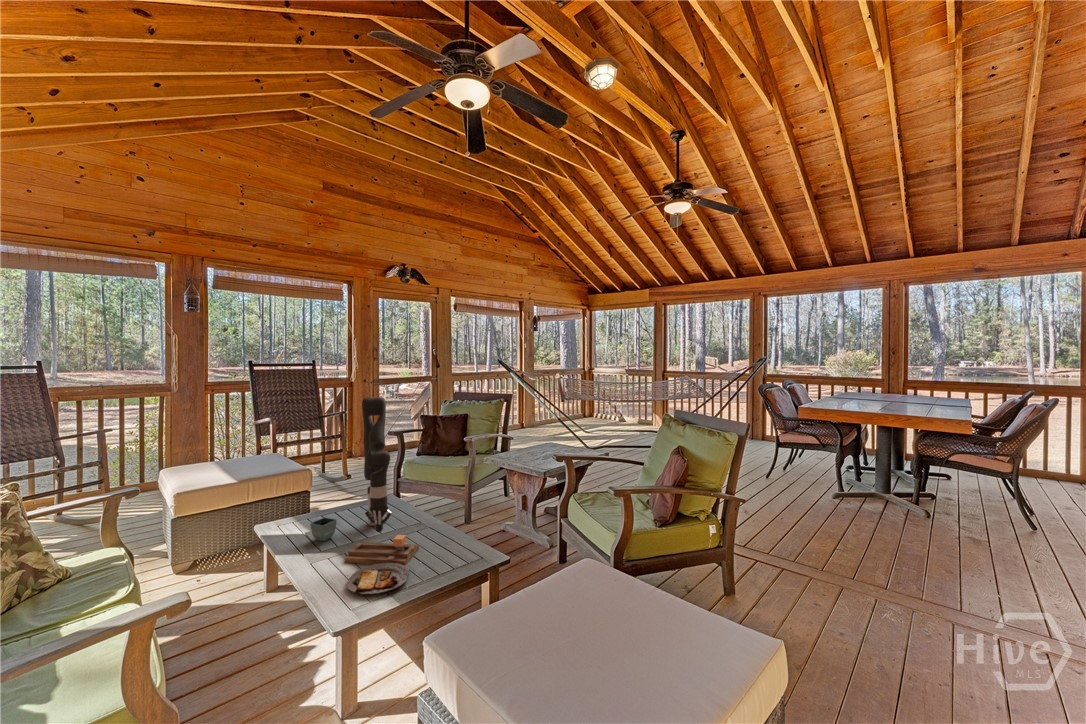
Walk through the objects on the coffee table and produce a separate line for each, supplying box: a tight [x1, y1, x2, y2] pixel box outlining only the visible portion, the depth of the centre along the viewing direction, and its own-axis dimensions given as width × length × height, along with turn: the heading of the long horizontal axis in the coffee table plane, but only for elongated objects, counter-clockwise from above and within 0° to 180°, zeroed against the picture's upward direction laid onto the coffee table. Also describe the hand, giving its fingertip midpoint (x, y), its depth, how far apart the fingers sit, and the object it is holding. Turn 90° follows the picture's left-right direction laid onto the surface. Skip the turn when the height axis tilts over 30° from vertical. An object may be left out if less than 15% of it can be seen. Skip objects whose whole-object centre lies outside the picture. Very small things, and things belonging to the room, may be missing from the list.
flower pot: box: [309, 516, 337, 542], centre depth 221 cm, size 9×9×9 cm
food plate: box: [345, 563, 410, 595], centre depth 181 cm, size 25×23×4 cm
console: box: [344, 541, 420, 566], centre depth 204 cm, size 16×28×4 cm, turn 84°
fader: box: [392, 534, 407, 552], centre depth 203 cm, size 5×4×7 cm
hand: (379, 531), depth 204 cm, fingers closed
